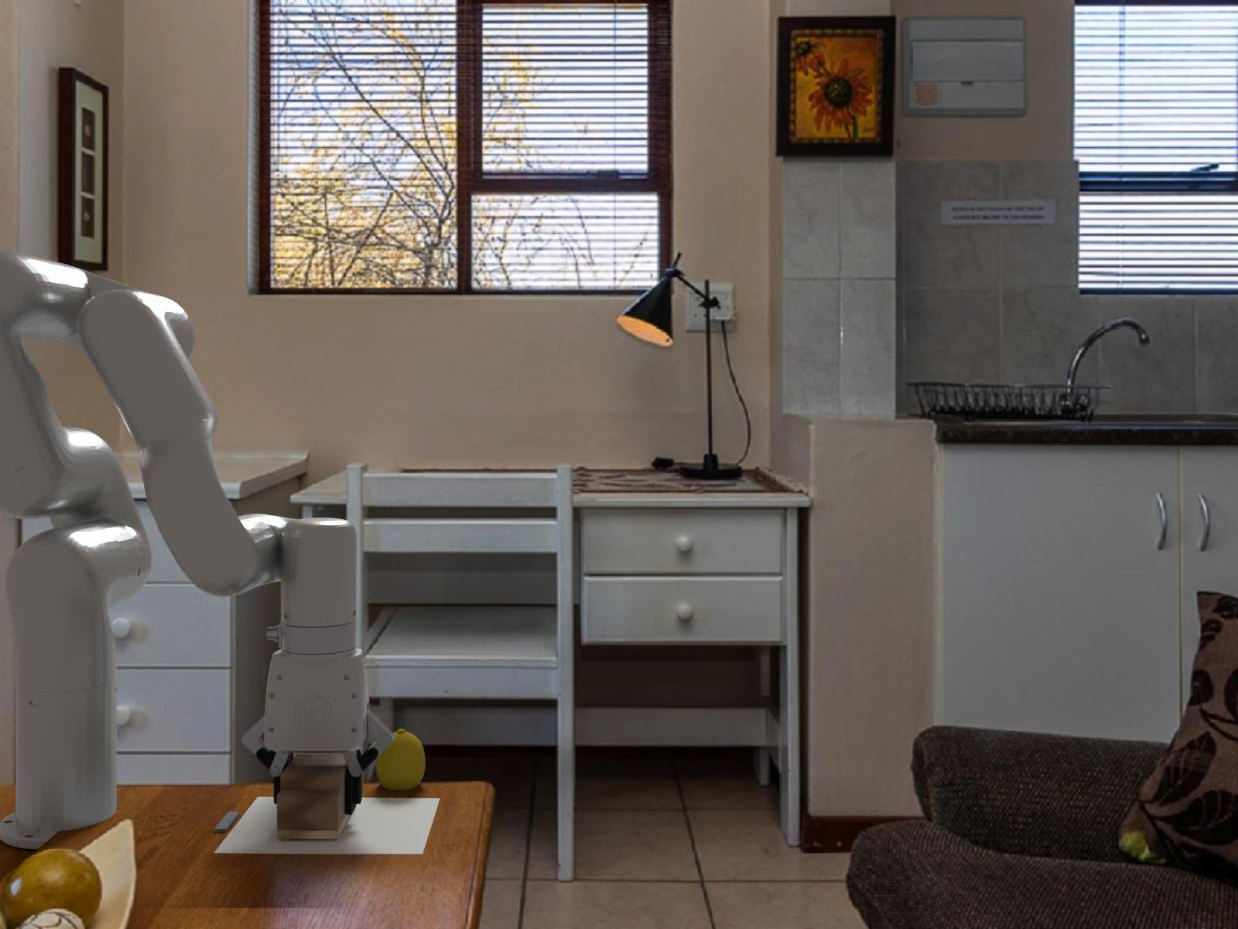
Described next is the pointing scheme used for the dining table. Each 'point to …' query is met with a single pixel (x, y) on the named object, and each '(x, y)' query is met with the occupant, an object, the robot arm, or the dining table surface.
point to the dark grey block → (227, 822)
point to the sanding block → (312, 797)
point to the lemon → (401, 762)
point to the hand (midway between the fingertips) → (318, 809)
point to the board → (364, 833)
